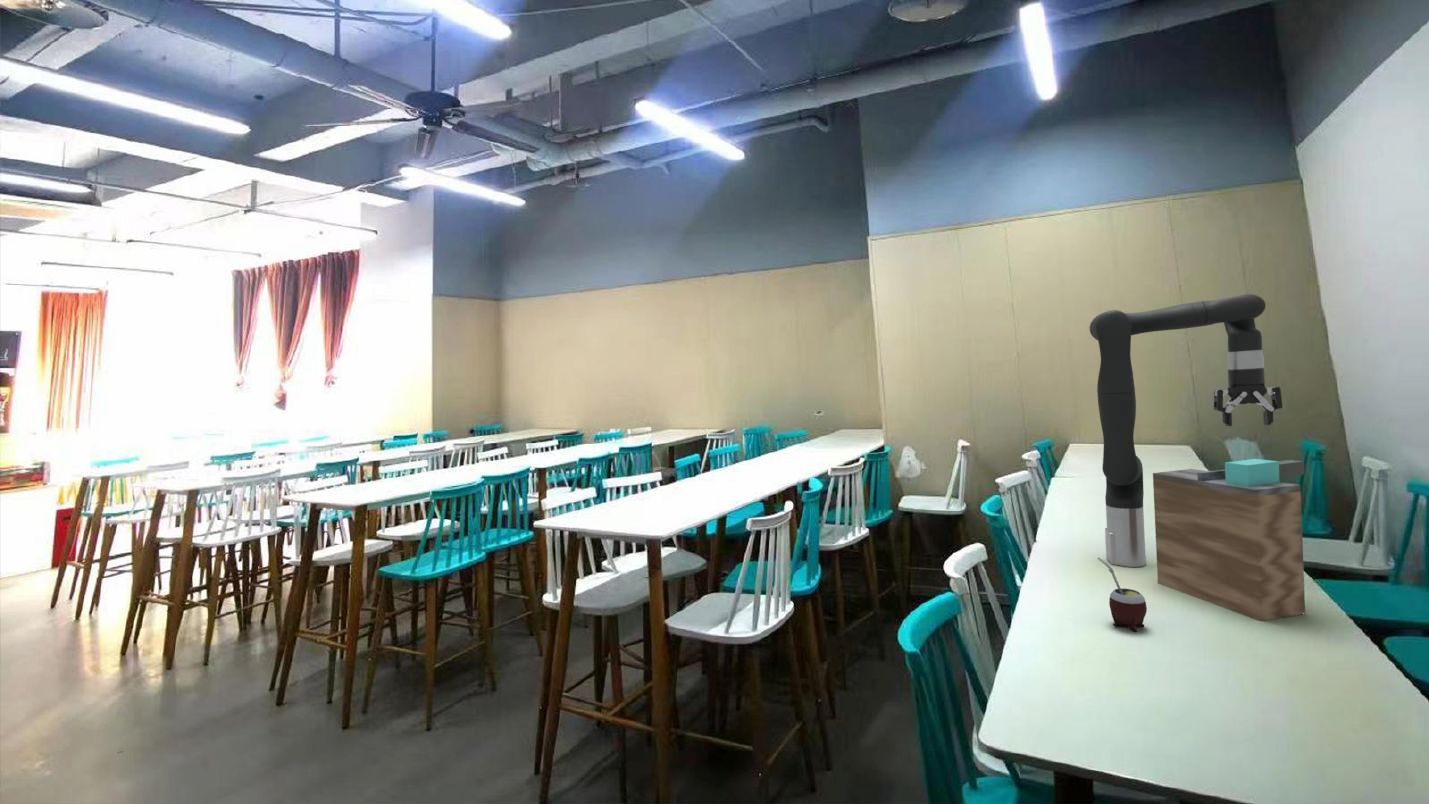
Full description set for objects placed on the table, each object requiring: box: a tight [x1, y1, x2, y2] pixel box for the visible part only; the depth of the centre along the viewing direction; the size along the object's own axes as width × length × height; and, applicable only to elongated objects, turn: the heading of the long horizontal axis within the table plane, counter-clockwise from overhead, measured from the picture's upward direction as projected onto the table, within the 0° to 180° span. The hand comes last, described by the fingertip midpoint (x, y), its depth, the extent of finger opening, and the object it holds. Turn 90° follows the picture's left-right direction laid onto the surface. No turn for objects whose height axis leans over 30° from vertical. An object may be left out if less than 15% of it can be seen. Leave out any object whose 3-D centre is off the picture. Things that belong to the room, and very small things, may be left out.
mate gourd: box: [1097, 557, 1148, 633], centre depth 135 cm, size 8×8×15 cm
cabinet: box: [1152, 468, 1306, 622], centre depth 146 cm, size 13×26×32 cm, turn 8°
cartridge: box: [1224, 458, 1305, 487], centre depth 139 cm, size 18×5×5 cm, turn 101°
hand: (1247, 425), depth 163 cm, fingers open, 8 cm apart
